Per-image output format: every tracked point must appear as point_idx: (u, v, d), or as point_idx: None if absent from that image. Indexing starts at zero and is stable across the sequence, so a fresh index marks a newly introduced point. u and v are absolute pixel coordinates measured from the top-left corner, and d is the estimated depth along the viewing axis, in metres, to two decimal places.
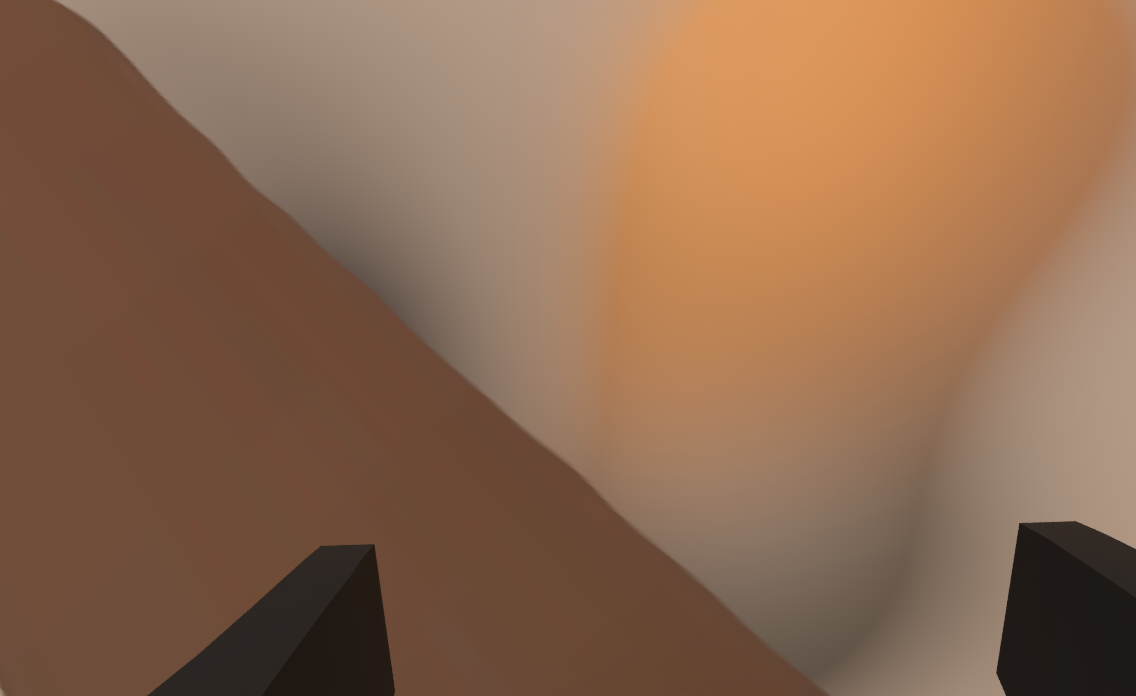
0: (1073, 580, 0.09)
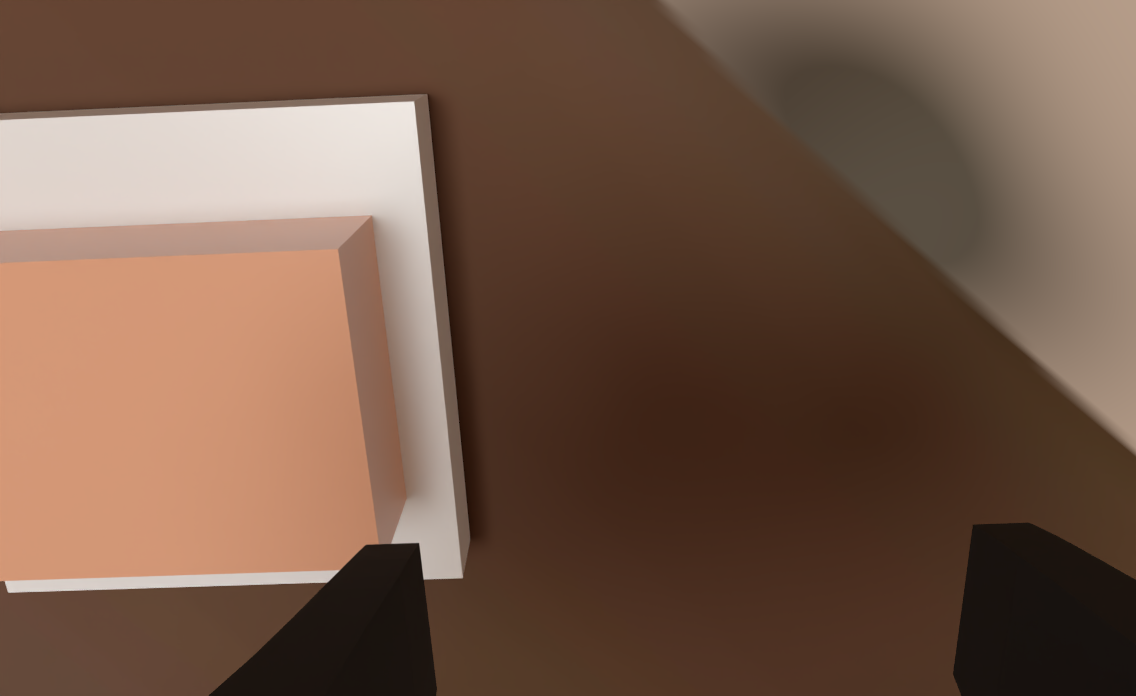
0: (1022, 582, 0.09)
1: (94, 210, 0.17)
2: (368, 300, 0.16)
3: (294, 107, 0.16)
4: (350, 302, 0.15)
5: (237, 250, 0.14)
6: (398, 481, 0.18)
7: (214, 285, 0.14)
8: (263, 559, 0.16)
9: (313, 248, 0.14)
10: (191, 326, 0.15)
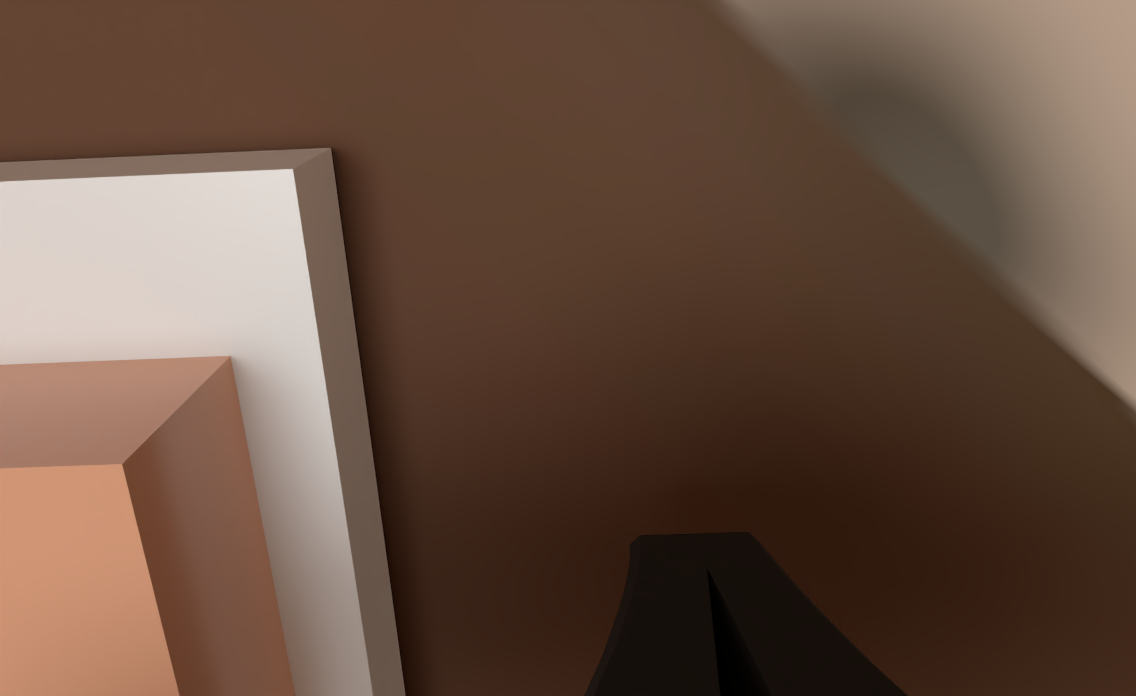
0: (709, 591, 0.09)
1: None
2: (217, 509, 0.09)
3: (86, 178, 0.09)
4: (161, 545, 0.08)
5: None
6: None
7: None
8: None
9: (79, 458, 0.08)
10: None
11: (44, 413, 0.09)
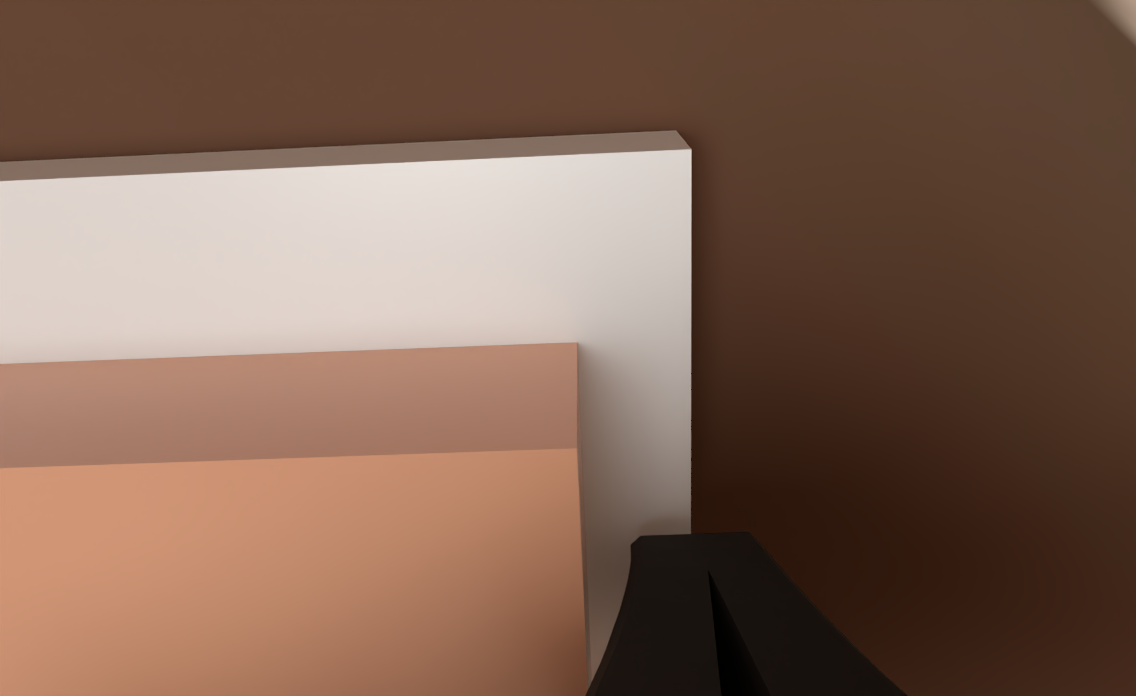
0: None
1: (125, 333, 0.10)
2: (582, 497, 0.09)
3: (478, 160, 0.09)
4: (581, 530, 0.08)
5: (378, 444, 0.08)
6: None
7: (336, 511, 0.08)
8: None
9: (526, 442, 0.07)
10: (287, 579, 0.08)
11: (440, 398, 0.08)
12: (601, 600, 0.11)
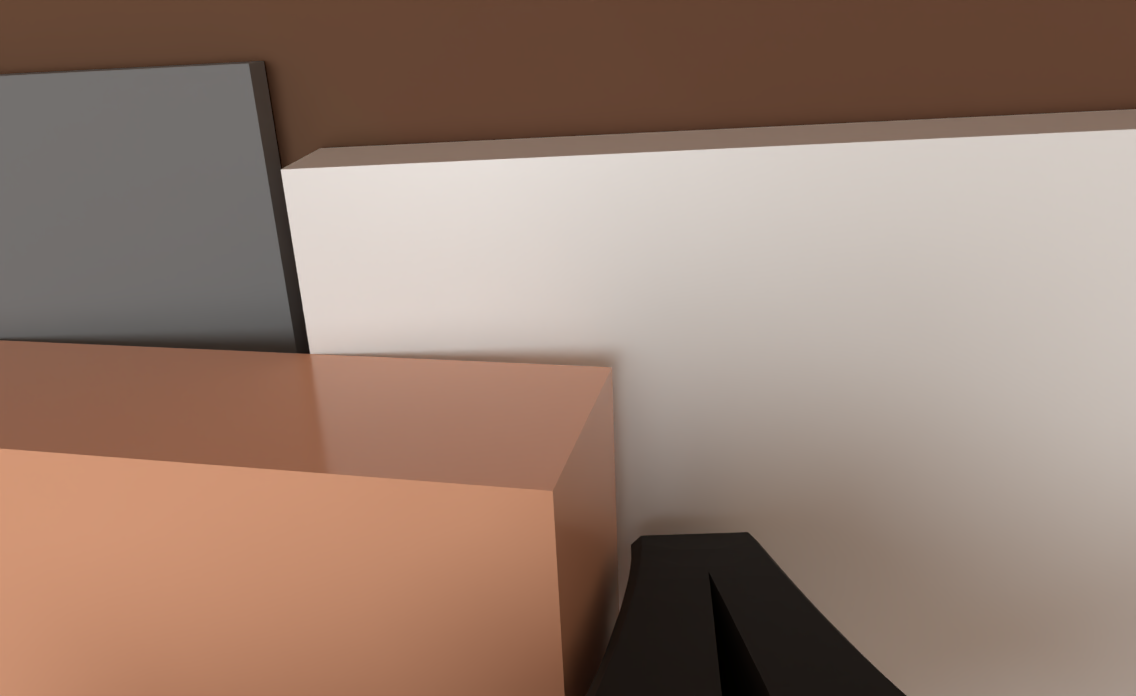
0: None
1: (664, 311, 0.10)
2: (596, 535, 0.09)
3: (1062, 133, 0.09)
4: (568, 575, 0.07)
5: (358, 464, 0.07)
6: None
7: (313, 527, 0.07)
8: None
9: (502, 477, 0.07)
10: (271, 588, 0.08)
11: (443, 418, 0.08)
12: (1088, 583, 0.11)
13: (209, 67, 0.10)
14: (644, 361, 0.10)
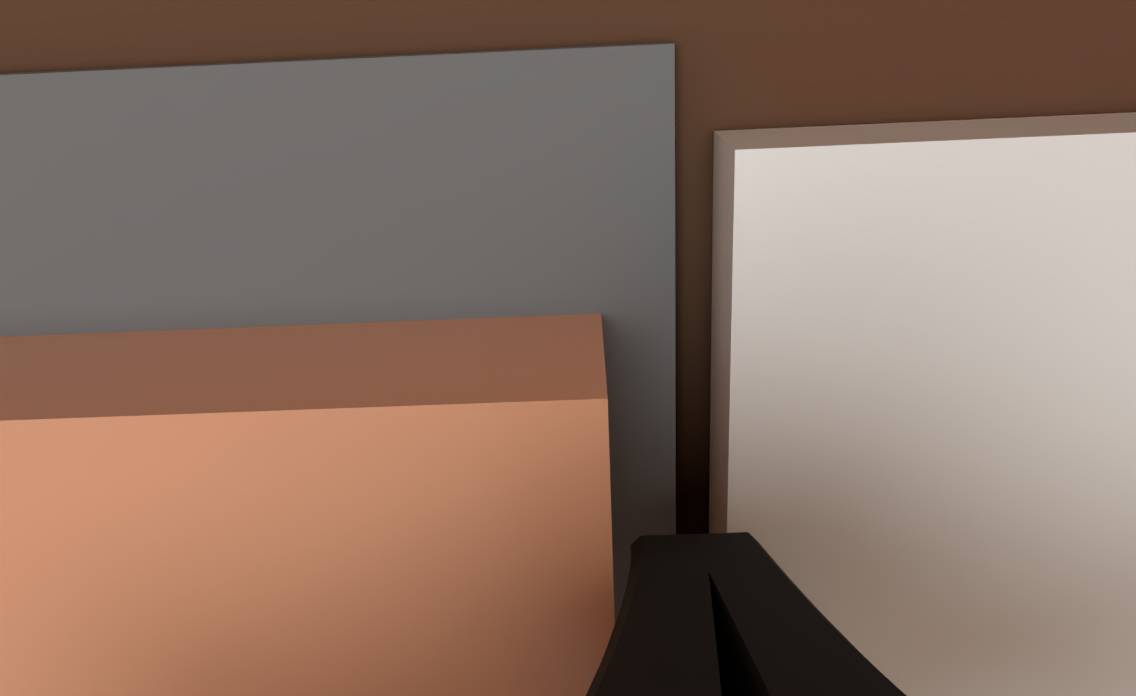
0: None
1: (1098, 296, 0.09)
2: None
3: None
4: (608, 475, 0.09)
5: (430, 397, 0.09)
6: None
7: (392, 456, 0.09)
8: None
9: (561, 394, 0.08)
10: (348, 518, 0.09)
11: (481, 359, 0.09)
12: None
13: (633, 47, 0.10)
14: (1069, 346, 0.10)
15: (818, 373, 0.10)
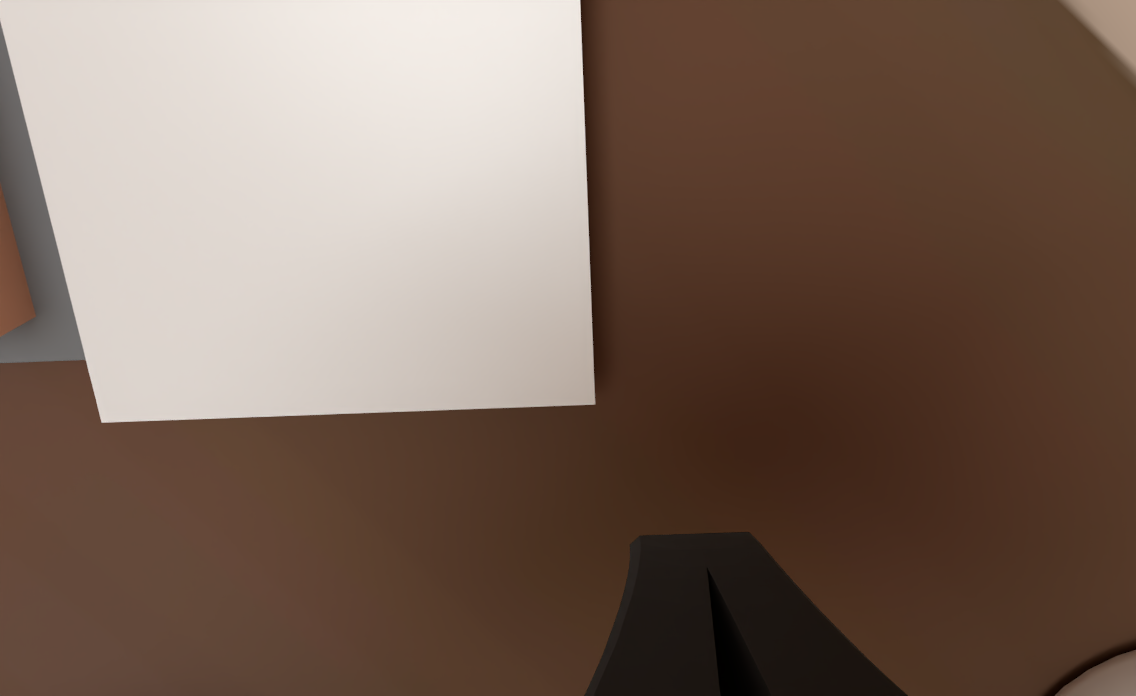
0: (709, 591, 0.09)
1: None
2: None
3: None
4: None
5: None
6: (12, 291, 0.18)
7: None
8: None
9: None
10: None
11: None
12: (527, 174, 0.16)
13: None
14: (208, 4, 0.15)
15: (57, 25, 0.15)
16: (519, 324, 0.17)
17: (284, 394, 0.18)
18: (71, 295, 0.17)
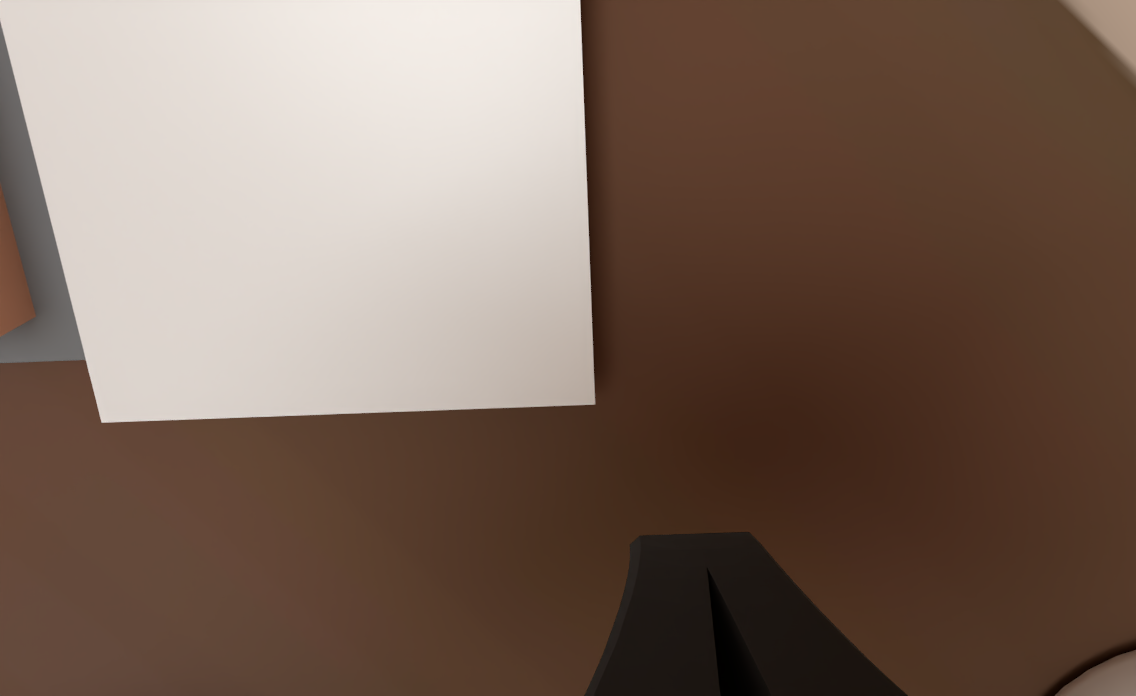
0: (709, 591, 0.09)
1: None
2: None
3: None
4: None
5: None
6: (12, 291, 0.18)
7: None
8: None
9: None
10: None
11: None
12: (527, 174, 0.16)
13: None
14: (208, 4, 0.15)
15: (57, 25, 0.15)
16: (519, 324, 0.17)
17: (284, 394, 0.18)
18: (71, 295, 0.17)
